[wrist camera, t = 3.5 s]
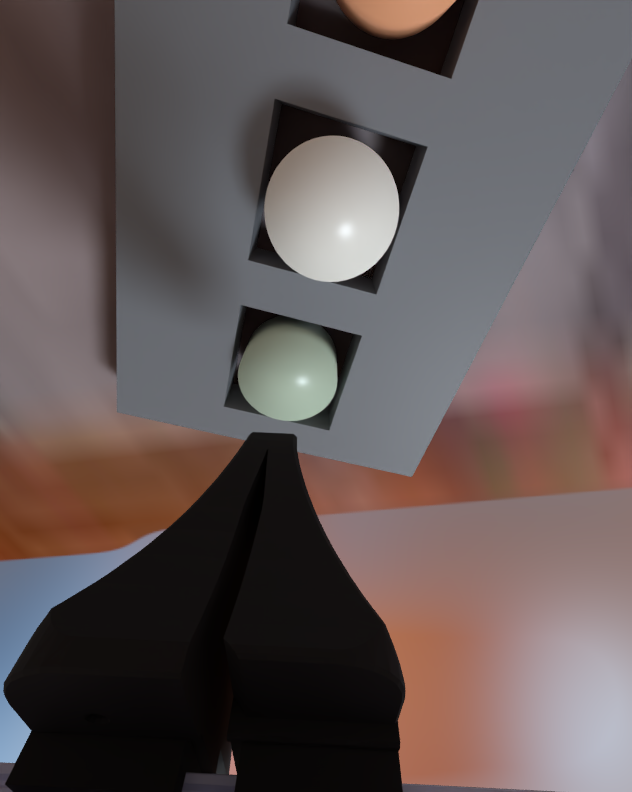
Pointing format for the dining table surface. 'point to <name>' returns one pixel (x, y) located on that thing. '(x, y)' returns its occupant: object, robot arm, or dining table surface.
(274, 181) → the ivory button
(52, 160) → the dining table surface
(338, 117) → the button panel
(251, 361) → the green button
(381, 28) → the terracotta button
